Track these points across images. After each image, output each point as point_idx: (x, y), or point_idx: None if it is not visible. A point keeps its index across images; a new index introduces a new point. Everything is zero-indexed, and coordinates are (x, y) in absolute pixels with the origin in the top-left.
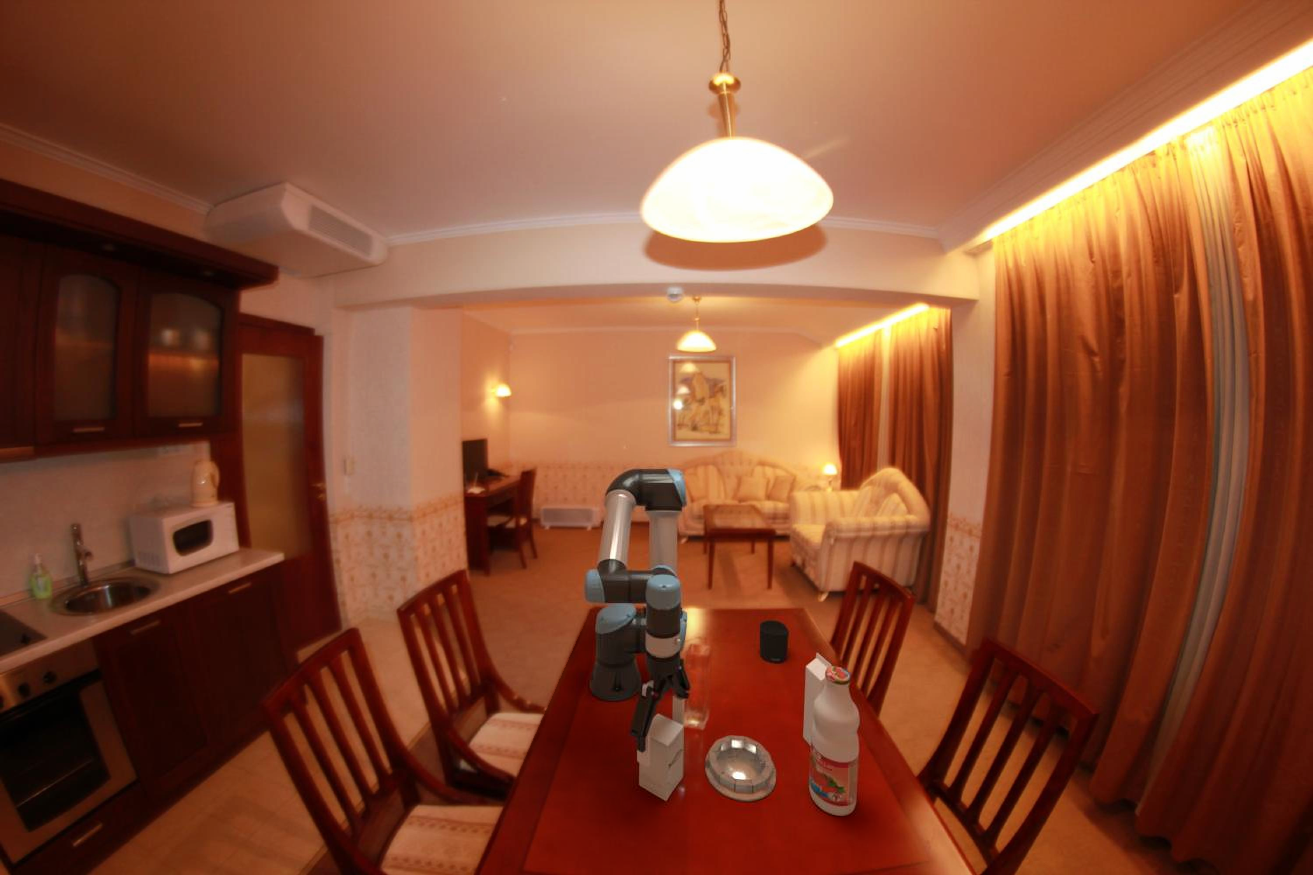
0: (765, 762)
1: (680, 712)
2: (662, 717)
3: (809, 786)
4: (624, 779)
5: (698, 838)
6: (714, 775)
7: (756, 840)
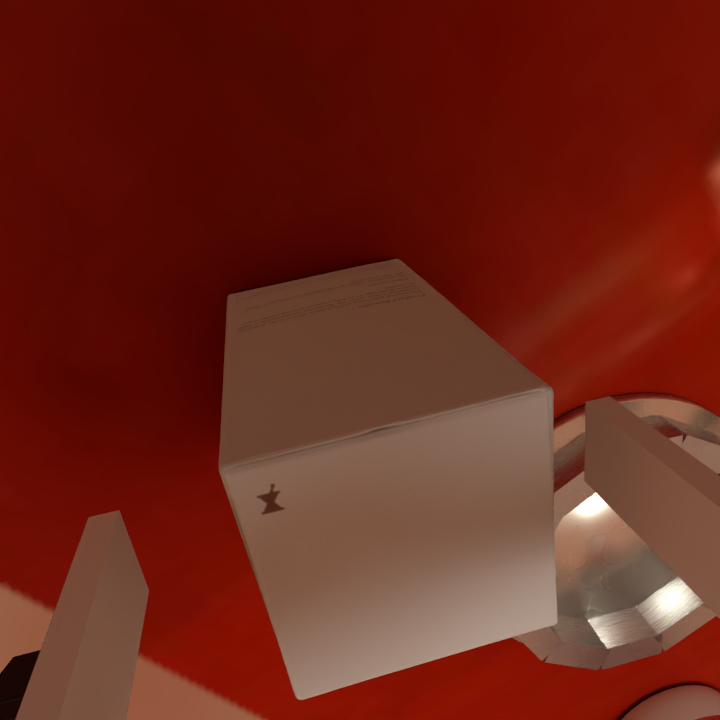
0: (673, 624)
1: (663, 542)
2: (527, 463)
3: (658, 718)
4: (188, 204)
5: (247, 617)
6: None
7: (387, 707)
